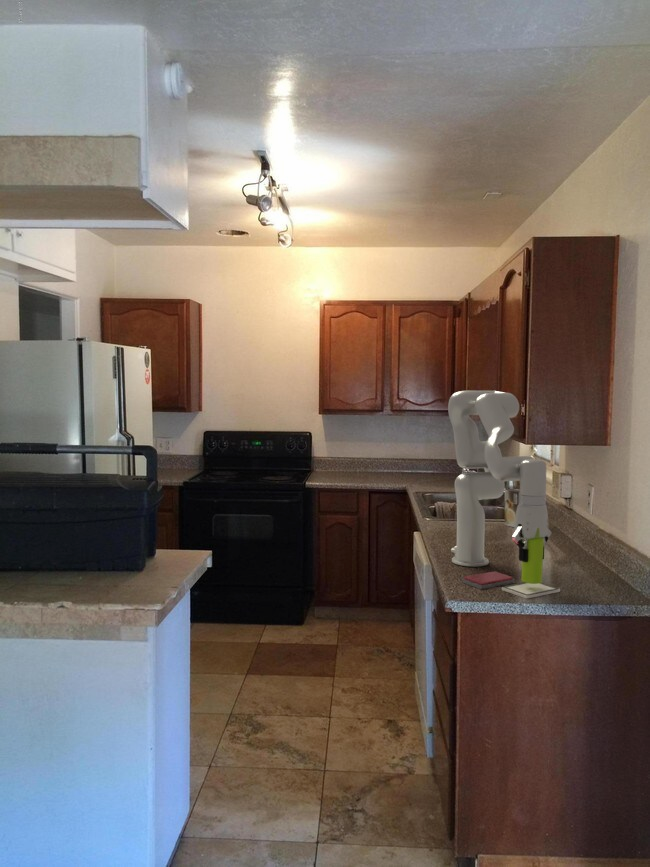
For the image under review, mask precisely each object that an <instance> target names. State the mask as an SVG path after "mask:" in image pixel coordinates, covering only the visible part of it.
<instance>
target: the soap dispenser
mask: <svg viewBox="0 0 650 867" xmlns="http://www.w3.org/2000/svg"><path fill="white" fill-rule="evenodd" d="M523 538H524V537H523ZM524 541H525V540H523V543H524ZM543 545H544V539H543V538H539V528H537V531H536V535H535V538H534V539H529V541H528V545H527V548H526V549H528V562H523V561H521V578H520V579H521V581H522V583H524V582H525V583H530V584H539V583H543V582H542V581H543V564H544V563H543V560H544V559H543Z"/></svg>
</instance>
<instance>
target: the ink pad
mask: <svg viewBox="0 0 650 867" xmlns="http://www.w3.org/2000/svg"><path fill="white" fill-rule="evenodd" d="M461 583H462V584H465V585H468V586H470V587H474V588H476V589H479V590H485V589H490V588H495V587H496V588H497V587H503V586H508V585H514V584H516V579H515V578H513V576H510V575H507V574H504V573H501V572H498V571H489V572H483V573H479V574H472V575H466V576H463V577H462V578H461Z"/></svg>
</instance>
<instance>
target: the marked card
mask: <svg viewBox="0 0 650 867" xmlns="http://www.w3.org/2000/svg"><path fill="white" fill-rule="evenodd" d="M501 590H502V591H503V592H507V593H510V594H512V595H515V596H518V597H521V598H523V599H526V600H527V599H531V598H537V597H540V596H546V595H550V594H556V593H561V588H559V587H556V586H552V585H549V584H545V583H543V582H541V583H539V584H530V583H525V582H521V583H520V582H519V583H513V584H508V585H503V586H501Z"/></svg>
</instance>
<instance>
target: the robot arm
mask: <svg viewBox="0 0 650 867" xmlns="http://www.w3.org/2000/svg"><path fill="white" fill-rule="evenodd" d="M447 407H448V408H447V410H448V417H449V421H450V423H451V426H452V429H453V438H454V449H455V456H456V463H457V465H458V466H459V468H462V469H466V470H467V469H469V470H471V469H484V471H482V472H481V471H476V472H475V471H473V472H472V471H471V472H464V473H461V474H459V475H458V476H457V477H456V478H455V480H454V492H455V499H456V545H455V546H454V547H452V548H451V549H450V551H451V553H454V556H453V557H452V558H451V562H452V563H453V564H455V565H458V566H464V567H471V568H472V567H484V566H488V565H489V563H490V562H489V559H488V558H487V557H485V530H486V529H485V524H486V521H485V520H486V515H485V509H484V508H483V505H482V504H481V503H480V500H494V499H499V498H501V497H502V496H503V494H505V487H506V486H505V485H506V484H505V482H513V481H514V482H516V481H517V482H518V481H519V489H520V505H518V506H517V510H516V516H515V525H514V527H513V534H512V536H511V539H512V541H513V542H514V543H515V545H516V547H517V548H518V561H520V562H522V561H523V562H528V549H526V548H527V545H528V541H529V539H534V538H535V535H536V531H537V528H539V538H543V539H544V545H543V560H544V559H545V547H546V545H547V542H548V540H549V538H550V536H551V535H552V531H551V530H550V528H549V513H548V507H547V503H546V502H547V501H546V500H547V497H548V496H547V463H546V461H545V460H543V459H537V458H534V457H531V456H526V455H525V456H522V455H521V456H520V455H519V456H516V455H515V456H514V455H513V456H502V451H501V449H500V447H499V445H500V444H501V443H502V444H503V442H505V441H507V440H509V439H510V438H511V437H512V436H513V435H514V432H515V427H514V425H513V422H512V421H511V419H513V418H515V417H516V416H517V415H518V414H519V411H520V403H519V400H518V398H517V397H516V396H515V395H514V394H513V393H511V392H503V391H499V390H498V391H497V390H461V391H460V390H459V391H457V392H454V393H453V394H452V395H451V396H450V397H449V400H448V406H447ZM470 416H478V417H479V419H480V421H481V423H482V426H483V427H484V430H485V432H486V434H487V437H488V438H487V439H486V440H483V441H482V440H481V439H480V435H479V428H478V425H477V424H476V422H475V421H474V420H473V419H472V418H471V417H470ZM523 537H524V538H523ZM523 540H525V541H524V543H523Z"/></svg>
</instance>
